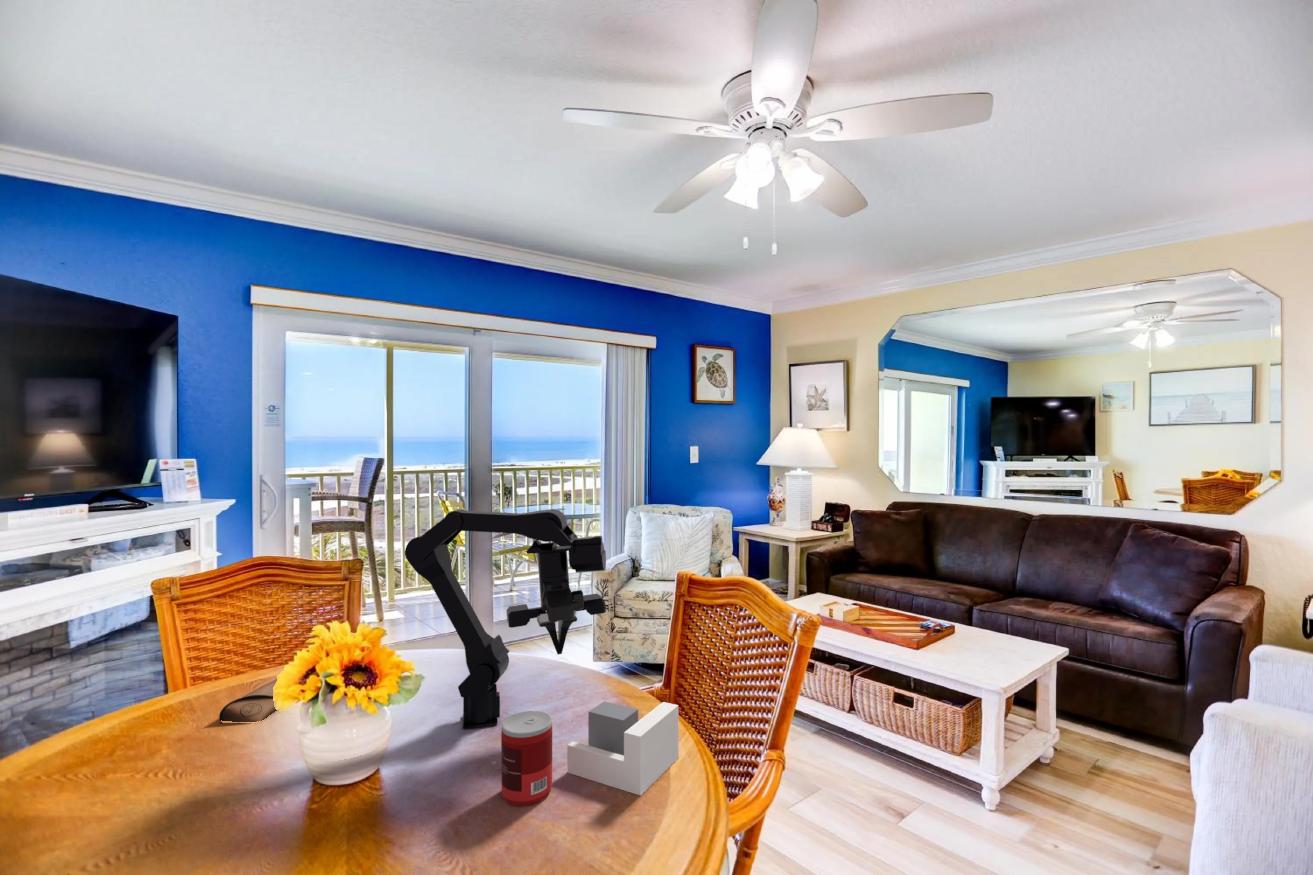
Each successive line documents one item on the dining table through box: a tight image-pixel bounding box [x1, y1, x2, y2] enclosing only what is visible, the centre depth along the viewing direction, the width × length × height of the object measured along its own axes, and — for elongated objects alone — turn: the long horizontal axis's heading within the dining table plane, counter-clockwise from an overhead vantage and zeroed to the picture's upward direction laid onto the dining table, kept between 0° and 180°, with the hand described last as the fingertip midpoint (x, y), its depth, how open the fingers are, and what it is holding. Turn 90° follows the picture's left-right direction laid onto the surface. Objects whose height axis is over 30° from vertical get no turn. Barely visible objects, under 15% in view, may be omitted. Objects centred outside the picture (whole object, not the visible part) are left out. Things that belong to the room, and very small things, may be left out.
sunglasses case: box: [218, 678, 278, 722], centre depth 127 cm, size 18×7×7 cm
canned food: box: [500, 710, 553, 807], centre depth 95 cm, size 8×8×11 cm
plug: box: [587, 701, 639, 756], centre depth 103 cm, size 10×5×8 cm, turn 61°
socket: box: [566, 701, 680, 797], centre depth 103 cm, size 14×13×9 cm
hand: (559, 653), depth 119 cm, fingers closed
